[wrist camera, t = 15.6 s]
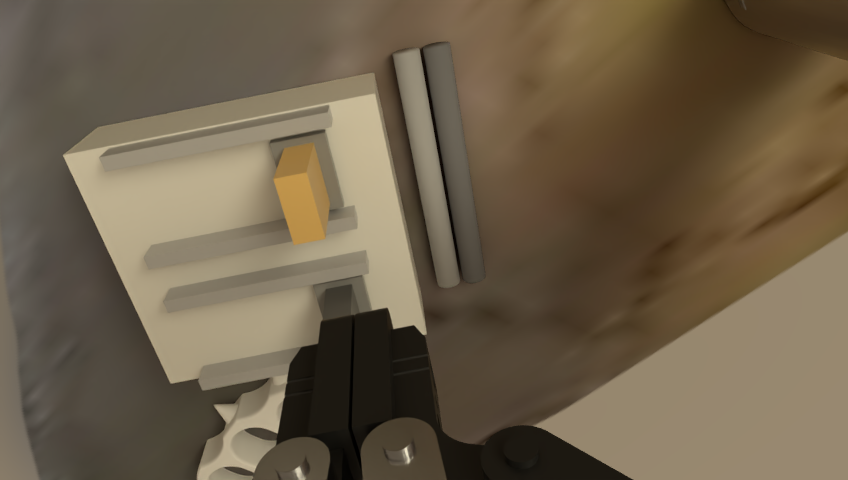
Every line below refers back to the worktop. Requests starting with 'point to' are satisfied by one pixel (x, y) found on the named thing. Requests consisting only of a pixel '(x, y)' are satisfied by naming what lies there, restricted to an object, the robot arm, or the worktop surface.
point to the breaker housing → (245, 226)
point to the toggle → (342, 297)
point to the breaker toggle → (306, 184)
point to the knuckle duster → (243, 432)
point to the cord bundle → (452, 158)
